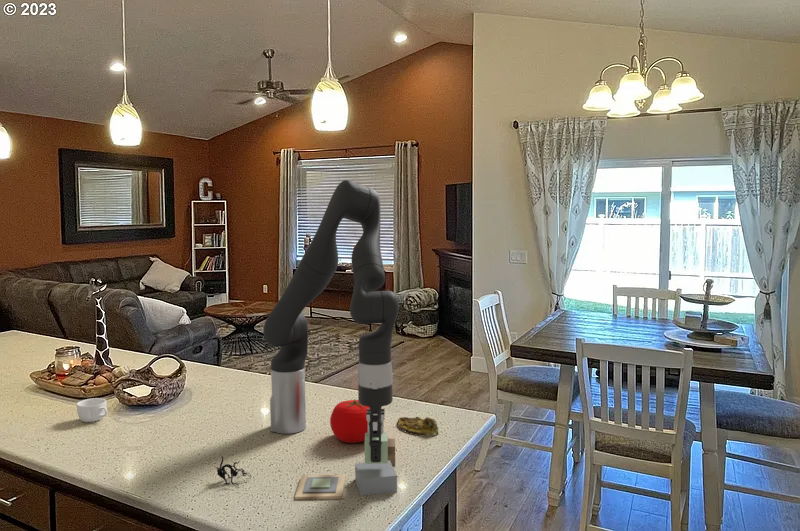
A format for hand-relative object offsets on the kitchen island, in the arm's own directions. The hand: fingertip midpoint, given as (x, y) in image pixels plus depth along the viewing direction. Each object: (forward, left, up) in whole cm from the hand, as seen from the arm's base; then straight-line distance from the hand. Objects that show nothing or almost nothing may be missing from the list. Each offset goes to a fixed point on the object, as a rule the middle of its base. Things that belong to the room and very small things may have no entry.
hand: (376, 455), depth 130 cm
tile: (-12, -1, -7) cm, 14 cm away
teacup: (-83, +43, -7) cm, 94 cm away
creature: (-32, +3, -7) cm, 33 cm away
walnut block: (+2, +12, -7) cm, 14 cm away
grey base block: (0, 0, -7) cm, 7 cm away
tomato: (-6, +27, -7) cm, 29 cm away
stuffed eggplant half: (+11, +34, -7) cm, 37 cm away
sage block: (0, 0, -1) cm, 1 cm away
